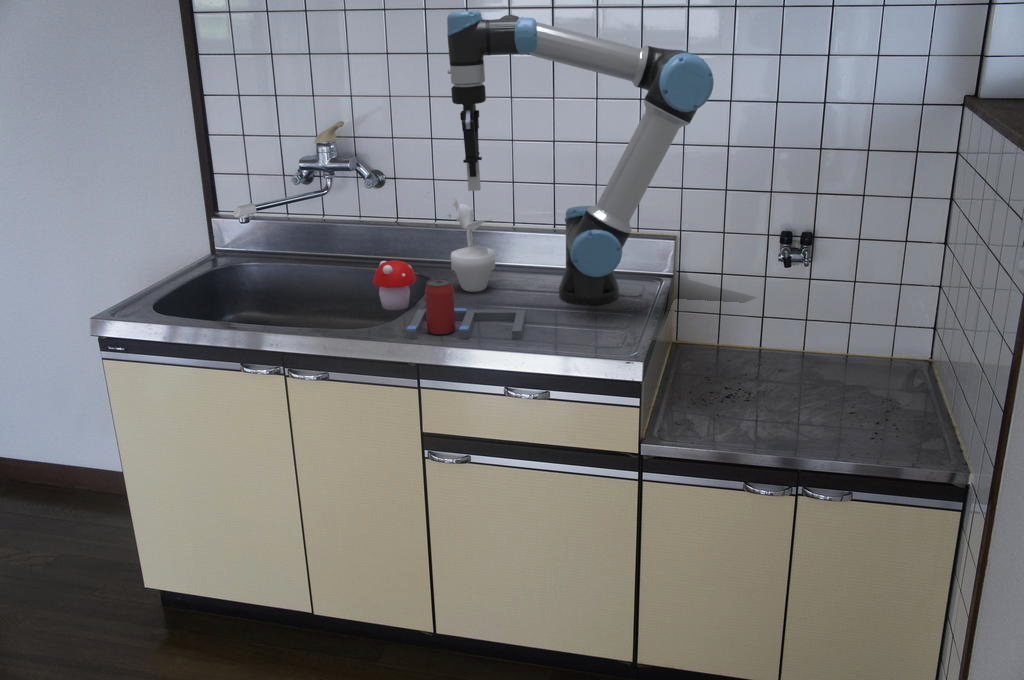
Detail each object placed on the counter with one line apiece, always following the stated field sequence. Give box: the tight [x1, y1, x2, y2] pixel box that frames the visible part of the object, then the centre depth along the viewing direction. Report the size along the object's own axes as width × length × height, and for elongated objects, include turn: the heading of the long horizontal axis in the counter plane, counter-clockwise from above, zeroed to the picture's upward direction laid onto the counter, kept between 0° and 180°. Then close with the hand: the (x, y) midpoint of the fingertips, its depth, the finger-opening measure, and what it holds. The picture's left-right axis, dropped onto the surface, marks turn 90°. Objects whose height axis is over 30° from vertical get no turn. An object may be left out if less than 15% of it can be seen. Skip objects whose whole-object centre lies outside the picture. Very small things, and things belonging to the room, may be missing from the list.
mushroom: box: [372, 259, 417, 311], centre depth 241 cm, size 11×11×12 cm
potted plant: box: [447, 199, 496, 293], centre depth 250 cm, size 13×12×25 cm
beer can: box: [424, 277, 456, 336], centre depth 223 cm, size 7×7×12 cm
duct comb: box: [406, 307, 526, 340], centre depth 226 cm, size 26×14×2 cm, turn 85°
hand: (474, 189), depth 223 cm, fingers closed
